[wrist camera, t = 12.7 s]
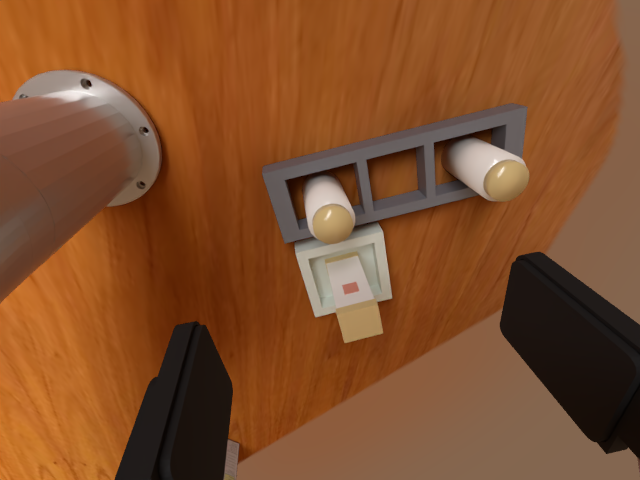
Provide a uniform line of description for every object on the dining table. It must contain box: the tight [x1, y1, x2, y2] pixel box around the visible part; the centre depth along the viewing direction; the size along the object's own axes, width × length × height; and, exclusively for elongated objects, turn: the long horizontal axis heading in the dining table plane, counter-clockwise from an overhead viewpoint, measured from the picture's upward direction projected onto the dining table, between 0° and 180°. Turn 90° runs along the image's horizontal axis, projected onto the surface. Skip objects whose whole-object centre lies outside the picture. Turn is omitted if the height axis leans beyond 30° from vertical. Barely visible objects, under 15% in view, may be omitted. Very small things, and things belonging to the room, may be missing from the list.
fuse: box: [324, 251, 383, 343], centre depth 38 cm, size 4×4×10 cm
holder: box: [262, 103, 527, 243], centre depth 36 cm, size 27×8×2 cm, turn 103°
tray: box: [294, 222, 392, 317], centre depth 41 cm, size 10×10×2 cm
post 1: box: [302, 171, 355, 244], centre depth 33 cm, size 4×4×9 cm
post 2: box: [441, 135, 529, 202], centre depth 33 cm, size 4×4×9 cm
